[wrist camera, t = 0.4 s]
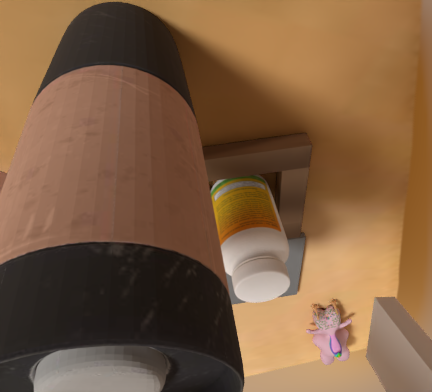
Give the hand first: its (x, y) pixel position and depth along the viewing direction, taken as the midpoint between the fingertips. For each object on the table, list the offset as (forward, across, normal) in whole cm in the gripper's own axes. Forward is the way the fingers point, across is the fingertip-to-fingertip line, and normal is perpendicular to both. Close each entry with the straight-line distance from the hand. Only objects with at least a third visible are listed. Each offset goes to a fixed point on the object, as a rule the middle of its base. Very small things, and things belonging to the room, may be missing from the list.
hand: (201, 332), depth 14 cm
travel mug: (+14, -5, +10) cm, 18 cm away
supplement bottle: (+20, +3, -1) cm, 20 cm away
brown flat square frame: (+20, +3, -1) cm, 20 cm away
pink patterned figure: (+33, +18, -25) cm, 45 cm away
